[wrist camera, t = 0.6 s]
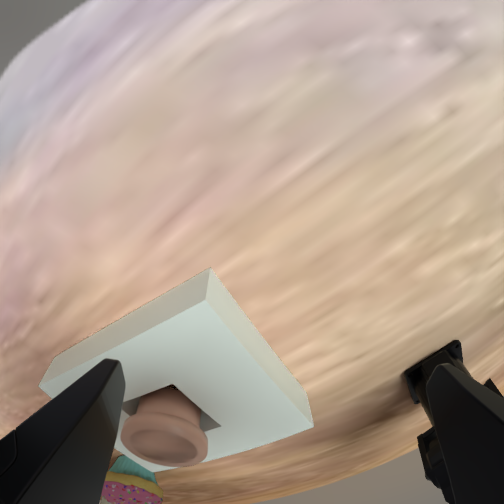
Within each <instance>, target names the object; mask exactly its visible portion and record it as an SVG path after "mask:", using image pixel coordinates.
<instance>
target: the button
mask: <svg viewBox="0 0 504 504" xmlns="http://www.w3.org/2000/svg"><path fill="white" fill-rule="evenodd" d="M200 417H201V409H200V408H199V407H198V406H197V405H196V404H195V403H194V402H192V401H191V400H190V399H189V398H188V397H187V396H186V395H185V394H183V393H182V392H181V391H179V390H175V389H170V388H160V389H158V390H155V391H153V392H150V393H147V394H145V395H142V396H141V397H140V400H139V404H138V408H137V412H136V414H134V415H132V416H130V417H128V418H127V419H126V420H125V422H124V424H123V428H122V431H121V435H120V438H121V442H122V444H123V445H124V446H125V448H126V449H127V450H129V451H130V452H131V453H132V454H134V455H135V456H137V457H139V458H141V459H143V460H145V461H148V462H151V463H154V464H157V465H162V466H168V467H187V466H192V465H196V464H198V463H200V462H202V461H203V460H204V459H205V458H206V456H207V453H208V438H207V436H206V434H205V433H204V432H203V430H201V429H200Z"/></svg>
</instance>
